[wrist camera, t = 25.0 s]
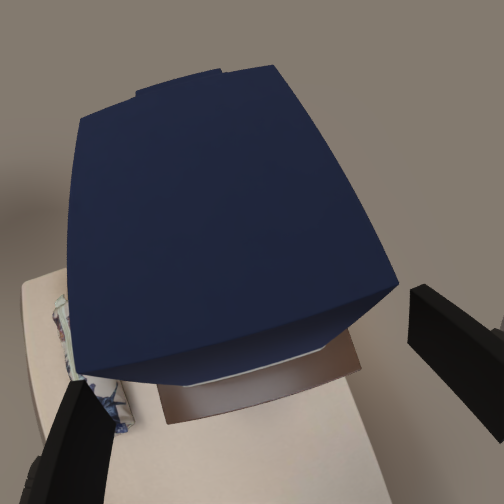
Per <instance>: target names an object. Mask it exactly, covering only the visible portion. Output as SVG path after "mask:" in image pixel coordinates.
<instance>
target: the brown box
mask: <svg viewBox="0 0 504 504" xmlns="http://www.w3.org/2000/svg"><path fill="white" fill-rule="evenodd" d="M359 370H361V366H360V363H359V359H358V357H357V354H356V351H355V348H354V345H353V342H352V340H351V337H350V334H349V331H348V328H347V329H346V330H344V331H343V332H342V333H340V334H339V335H338V336H337V337H335V338H334V339H333V340H331V341H330V342H329V343H327V344H326V345H325V347H324V348H322V349H321V350H319V351H316V352H313V353H311V354H308V355H305V356H302V357H298V358H295V359H292V360H289V361H286V362H283V363H279V364H276V365H273V366H270V367H266V368H263V369H259V370H256V371H252V372H249V373H245V374H241V375H238V376H234V377H230V378H226V379H222V380H218V381H214V382H210V383H206V384H201V385H197V386H192V387H183V386H177V385H163V384H157V388H158V392H159V396H160V400H161V404H162V408H163V412H164V415H165V419H166V423H167V424H168V425H169V424H175V423H180V422H186V421H191V420H196V419H201V418H206V417H211V416H215V415H220V414H224V413H228V412H232V411H237V410H241V409H244V408H248V407H252V406H256V405H259V404H263V403H267V402H270V401H273V400H277V399H280V398H283V397H287V396H290V395H293V394H296V393H299V392H302V391H305V390H308V389H311V388H314V387H317V386H320V385H323V384H325V383H328V382H331V381H334V380H336V379H339V378H342V377H344V376H346V375H349V374H352V373H354V372H357V371H359Z"/></svg>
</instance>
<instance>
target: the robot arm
mask: <svg viewBox="0 0 504 504" xmlns="http://www.w3.org/2000/svg"><path fill="white" fill-rule="evenodd" d="M407 343H408V344H409V345H410V346H411V347H412V348H413V349H414V351H416V353H417V354H418V355H419V356H420V357H421V358H422V359H423V360H424V361H425V362H426V363H427V364H428V365H429V366H430V367H431V368H432V369H433V370H434V371H435V372H436V373H437V375H438V376H439V377H440V378H441V379H442V380H443V381H444V382H445V383H446V384H447V385H448V386H449V387H450V388H451V389H452V391H454V393H455V394H456V395H457V396H458V397H459V398H460V399H461V400H462V401H463V403H465V405H466V406H467V407H468V408H469V409H470V410H471V411H472V412H473V414H474V415H475V416H476V417H477V418H478V419H479V420H480V421H481V423H482V424H483V425H484V426H485V427H486V428H487V429H488V430H489V432H490V433H491V434H492V435H493V436H494V437H495V439H496V440H497V441H498V442H499V443H502V442H503V441H504V331H501V330H499V329H496V328H494V329H493V330H491V331H490V330H488V329H487V328H486V327H484V326H483V325H482V324H480V323H479V322H478V321H476V320H475V319H474V318H472V317H471V316H469V315H468V314H467V313H466V312H464V311H463V310H461V309H460V308H459V307H457V306H456V305H454V304H453V303H452V302H450V301H449V300H447V299H446V298H445V297H443V296H442V295H440V294H439V293H437V292H436V291H435V290H433V289H432V288H430V287H429V286H427V285H426V284H422V285H420V286H417V287H415V288H412V289H410V309H409V328H408V342H407ZM116 425H117V424H116V423H115V421H114V420H113V419H112V417H111V416H110V415H109V413H108V412H107V411H106V409H105V408H104V407H103V405H102V404H101V402H100V401H99V400H98V398H97V397H96V395H95V394H94V392H93V391H92V389H91V388H90V386H89V385H88V383H87V382H86V380H85V379H83V380H76V381H70V383H69V385H68V387H67V390H66V392H65V395H64V397H63V399H62V402H61V404H60V407H59V409H58V412H57V414H56V417H55V419H54V422H53V425H52V427H51V430H50V433H49V435H48V438H47V441H46V444H45V447H44V450H43V453H42V456H38V457H37V458H36V460H35V461H34V462H33V463H32V465H31V467H30V470H29V473H28V476H27V478H28V479H26V482H25V488H24V489H23V492H22V496H21V499H20V503H19V504H103V503H104V495H105V488H106V481H107V475H108V468H109V462H110V456H111V451H112V445H113V440H114V435H115V430H116Z"/></svg>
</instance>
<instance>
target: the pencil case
mask: <svg viewBox="0 0 504 504" xmlns="http://www.w3.org/2000/svg"><path fill="white" fill-rule="evenodd" d="M55 306H56V307H57V308H56V309H55V310H54V311H53V320H54V322H55V323H56V325H57V329H58V335H59V338H60V340H61V343H62V347H63V350H64V354H65V361H66V369H67V372H68V375H69V377H70V379H71V381H76V380H83V379H85V380H86V382H87V383H88V385H89V386H90V388H91V389H92V391H93V392H94V394H95V395H96V397H97V398H98V400H99V401H100V402H101V404H102V405H103V407H104V408H105V409H106V411H107V412H108V413H109V415H110V416H111V417H112V419H113V420H114V421H115V423H116V424H117V425H116V430H115V435H114V436H117V435H120V434H121V433H125V432H128V429H129V427H130V426H132V425H133V424H134V423H135V421H134V418H133V415H132V414H131V411H130V408H129V405H128V402H127V400H126V397H125V394H124V392H123V388H122V385H121V382H120V380H114V379H107V378H100V377H93V376H87V375H81V374H77V373H76V371H75V364H74V357H73V349H72V341H71V331H70V320H69V307H68V300H65V299H64V295H61V296H60V297H59V298H58V299H57V300H56V302H55Z"/></svg>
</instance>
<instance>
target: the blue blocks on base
mask: <svg viewBox="0 0 504 504" xmlns="http://www.w3.org/2000/svg"><path fill="white" fill-rule="evenodd" d="M68 212H69V213H68V231H67V233H68V234H67V288H68V307H69V320H70V331H71V341H72V349H73V357H74V364H75V371H76V373H77V374H81V375H87V376H93V377H100V378H107V379H114V380H122V381H131V382H140V383H151V384H163V385H177V386H183V387H192V386H197V385H201V384H206V383H210V382H214V381H218V380H222V379H226V378H230V377H234V376H238V375H241V374H245V373H249V372H252V371H256V370H259V369H263V368H266V367H270V366H273V365H276V364H279V363H283V362H286V361H289V360H292V359H295V358H298V357H302V356H305V355H308V354H311V353H313V352H316V351H319V350H321V349H322V348H324V347H325V345H326V344H327V343H329V342H330V341H331V340H333V339H334V338H335V337H337V336H338V335H339V334H340V333H342V332H343V331H344V330H346V329H347V328H348V327H349V326H351V325H352V324H353V323H354V322H356V321H357V320H358V319H359V318H360V317H361V316H363V315H364V314H365V313H366V312H368V311H369V310H370V309H371V308H372V307H374V306H375V305H376V304H377V303H378V302H379V301H380V300H382V299H383V298H384V297H385V296H386V295H388V294H389V293H390V292H391V291H392V290H393V289H394V288H395V287H396V286H398V285H399V282H398V279H397V277H396V275H395V272H394V270H393V268H392V266H391V264H390V261H389V259H388V257H387V255H386V253H385V251H384V249H383V246H382V244H381V242H380V240H379V238H378V236H377V234H376V232H375V230H374V228H373V226H372V224H371V222H370V220H369V218H368V216H367V214H366V212H365V210H364V208H363V206H362V204H361V203H360V201H359V199H358V197H357V195H356V193H355V191H354V190H353V188H352V186H351V184H350V182H349V181H348V179H347V177H346V175H345V174H344V172H343V170H342V168H341V167H340V165H339V163H338V161H337V160H336V158H335V157H334V155H333V153H332V151H331V150H330V148H329V146H328V145H327V143H326V141H325V140H324V138H323V137H322V135H321V133H320V132H319V130H318V129H317V128H316V126H315V124H314V122H313V121H312V120H311V118H310V116H309V115H308V113H307V112H306V110H305V109H304V107H303V106H302V104H301V103H300V101H299V100H298V99H297V97H296V95H295V94H294V93H293V91H292V90H291V88H290V87H289V86H288V84H287V83H286V81H285V80H284V79H283V77H282V76H281V74H280V73H279V72H278V70H277V69H276V68H275V66H274V65H268V66H262V67H255V68H250V69H244V70H238V71H233V72H225V73H222V71H221V69H220V68H219V69H214V70H209V71H205V72H201V73H196V74H192V75H188V76H185V77H181V78H177V79H173V80H170V81H167V82H163V83H160V84H156V85H153V86H150V87H147V88H144V89H141V90H138V91H136V97H133V98H131V99H129V100H127V101H124V102H121V103H118V104H115V105H113V106H110V107H108V108H105V109H103V110H100V111H98V112H95V113H93V114H90V115H88V116H86V117H83V118H81V119H80V123H79V129H78V135H77V141H76V147H75V153H74V161H73V168H72V177H71V187H70V198H69V211H68Z"/></svg>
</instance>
